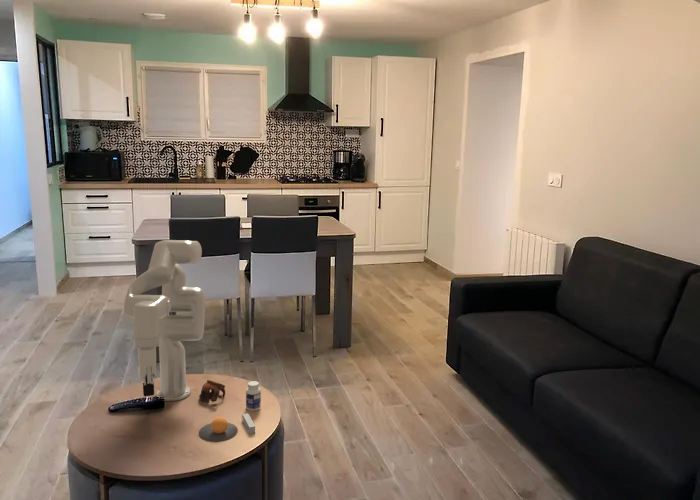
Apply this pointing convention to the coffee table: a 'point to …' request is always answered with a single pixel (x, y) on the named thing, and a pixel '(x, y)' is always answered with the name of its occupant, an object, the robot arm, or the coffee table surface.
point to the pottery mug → (214, 393)
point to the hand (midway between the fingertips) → (148, 394)
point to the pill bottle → (253, 396)
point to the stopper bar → (248, 423)
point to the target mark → (209, 435)
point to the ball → (219, 425)
